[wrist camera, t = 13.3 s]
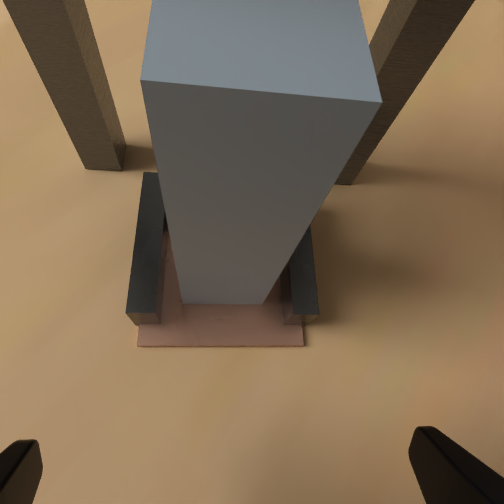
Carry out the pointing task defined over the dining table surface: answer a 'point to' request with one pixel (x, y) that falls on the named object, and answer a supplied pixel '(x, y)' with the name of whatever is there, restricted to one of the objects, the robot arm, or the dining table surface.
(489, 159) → the dining table surface
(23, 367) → the dining table surface
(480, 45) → the dining table surface
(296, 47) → the blue-grey rectangular block
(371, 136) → the overhang seat
